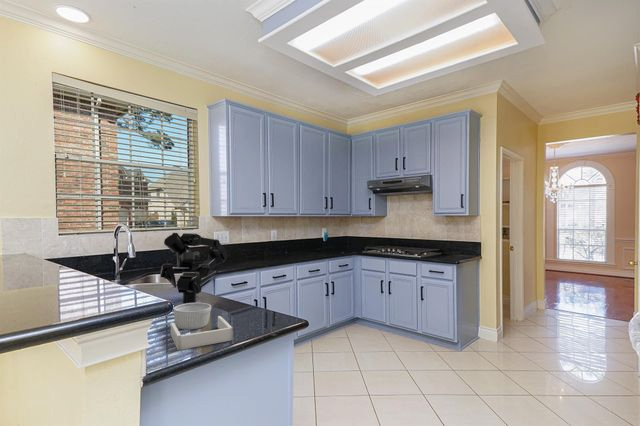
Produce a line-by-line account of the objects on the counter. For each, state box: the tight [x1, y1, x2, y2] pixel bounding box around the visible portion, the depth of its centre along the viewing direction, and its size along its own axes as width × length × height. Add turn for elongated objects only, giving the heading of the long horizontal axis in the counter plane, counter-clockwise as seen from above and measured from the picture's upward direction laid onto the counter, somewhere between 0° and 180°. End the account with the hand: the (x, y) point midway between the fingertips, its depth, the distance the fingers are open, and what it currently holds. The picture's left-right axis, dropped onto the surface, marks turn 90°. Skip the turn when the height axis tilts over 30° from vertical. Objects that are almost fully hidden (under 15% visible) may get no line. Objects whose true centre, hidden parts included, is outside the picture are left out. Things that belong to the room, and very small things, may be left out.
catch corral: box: [170, 315, 234, 351], centre depth 112 cm, size 16×17×4 cm
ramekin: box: [173, 302, 212, 330], centre depth 124 cm, size 13×13×7 cm
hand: (187, 286), depth 134 cm, fingers open, 9 cm apart
